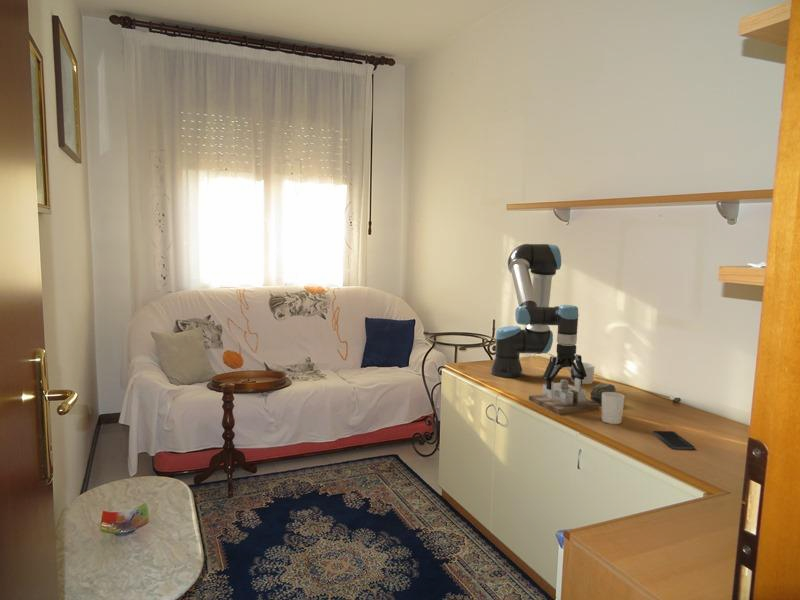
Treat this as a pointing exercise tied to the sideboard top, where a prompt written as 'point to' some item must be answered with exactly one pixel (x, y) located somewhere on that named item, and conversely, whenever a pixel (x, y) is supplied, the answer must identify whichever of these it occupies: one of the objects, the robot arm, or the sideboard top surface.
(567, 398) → the grey block
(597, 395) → the fossil
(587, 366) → the mug
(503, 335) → the robot arm
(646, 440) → the sideboard top surface
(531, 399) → the base
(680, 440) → the phone
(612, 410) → the white cup
